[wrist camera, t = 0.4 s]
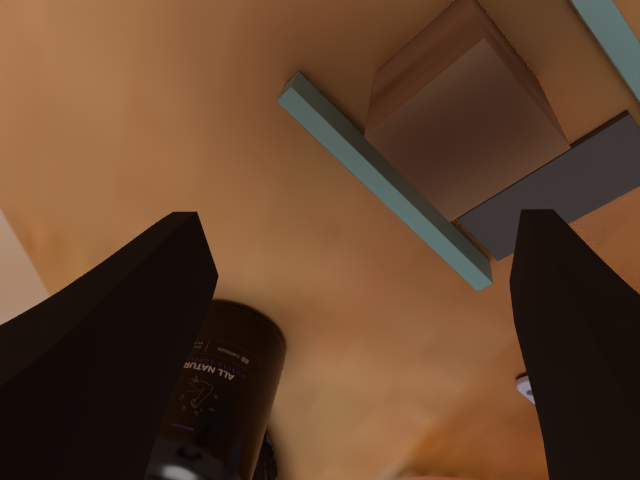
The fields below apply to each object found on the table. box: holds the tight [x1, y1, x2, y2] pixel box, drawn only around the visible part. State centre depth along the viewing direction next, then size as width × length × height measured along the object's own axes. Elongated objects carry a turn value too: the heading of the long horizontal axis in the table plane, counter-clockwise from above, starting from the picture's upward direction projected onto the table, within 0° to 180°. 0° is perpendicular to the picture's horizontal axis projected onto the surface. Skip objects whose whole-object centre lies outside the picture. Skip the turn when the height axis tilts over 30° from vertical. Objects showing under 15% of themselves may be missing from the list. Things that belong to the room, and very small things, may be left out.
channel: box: [276, 0, 640, 291], centre depth 18 cm, size 12×10×2 cm
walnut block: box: [364, 0, 571, 222], centre depth 16 cm, size 4×4×5 cm
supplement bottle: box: [143, 303, 285, 480], centre depth 25 cm, size 7×7×12 cm
